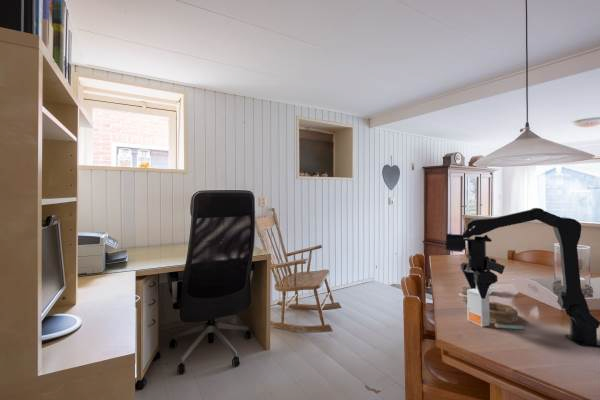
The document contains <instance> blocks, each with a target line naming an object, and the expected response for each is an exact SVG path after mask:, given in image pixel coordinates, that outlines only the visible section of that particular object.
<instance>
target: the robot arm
mask: <svg viewBox="0 0 600 400" xmlns="http://www.w3.org/2000/svg"><path fill="white" fill-rule="evenodd" d="M532 221H539V222H541V223H543V224H546V225H548V226H551V227H552V229H553V233H554V236H555V238H556V240H557V241H558V242H557V243H558V244H559V252H560V262H561V263H560V265H561V274H562V288H561V291H560V290H556V296H557V301H556V303H557V304H558V305H559V306H560V307H561V309H562V310H563V311H564V312H565V313H566V315H568V317H570V318H569V332H570V334H568V333H565V334H564V336H565V337H566V338H568V339H569V340H571V341H572V342H573V343H575V344H577V345H580V346H588V347H600V342H599V341H598V333H597V332H598V331H597V330H598V329H599V327H600V320H598V318H596V317H595V315H593V314H592V312H590V308H589V305H588V302H587V300H586V297H585V295H584V293H583V291H582V283H581V274H580V263H579V261H580V260H579V252H578V245H579V241H580V239H581V233H582V224H581V223H580V222H579V221H578V220H576V219H574V218H571V217H565V216H563V217H561V216H558V215H556V214H554V213H551V212H548V211H546V210H544V209H543V208H539V207H533V208H531V209H527V210H523V211H518V212H514V213H509V214H505V215H500V216H497V217H490V218H489V217H488V218H486V217H485V218H476V219H475V218H474V219H471V220H470V221H469V222H468V223H467V227H466V229H465V230H464V231H463V232H462V234H457V233H456V234H453V233H446V237H445V239H446V240H445V241H446V242H445V250H446V252H456V253H457V252H458V253H459V252H460V253H463V251H464V250H466V249H467V254H466V258H467V259H468V261H467V262H462V263H461V264H460V270H462V271H461V272H462V274H463V275H464V277H465V279H466V281H467V283H468V286H470V288H471V289H476V286H477V289H478V291H479V294H480V296H481V298H482V299H485V297H486V294H487V291H488V288H489V286H490V285H491V286H492V285H494V284H496V283H497V282H498V275H497V274H496V273H498V274H500V275H502V274H503V273H504V270H505V268H506V265H503V264H502V263H499V262H497V260H496V259H494V258H492V257H489V256H487V249H486V248H487V246H486V245H487V244H486V243H487V242H488V243H489V242H490V243H491V242H492V241H493V240H492V238H491V237H489V236H488V235H487V234H486V233H489V232H492V231H494V230H496V229H499V228H503V227H509V226H512V225H518V224H523V223H527V222H532ZM483 234H484V236H482V235H483ZM473 236H474V238H472V237H473ZM466 245H467V246H466ZM492 271H493V272H492ZM494 272H496V273H494Z"/></svg>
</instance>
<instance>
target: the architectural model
mask: <svg viewBox="0 0 600 400" xmlns="http://www.w3.org/2000/svg"><path fill="white" fill-rule="evenodd" d="M468 289H471V288H470V286H469V285H463V284H462V285H461V291H462V292H461V293H459V296H460V297H462V301H463V300H465V301H464V302H467V290H468Z"/></svg>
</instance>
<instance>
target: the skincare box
mask: <svg viewBox="0 0 600 400" xmlns="http://www.w3.org/2000/svg"><path fill="white" fill-rule="evenodd" d="M489 302H490V294H489V293H488V292H487V294H486V297H485V299H482V298H481V296H480V294H479V291H478V289H468V290H467V301H466V303H467V304H466V305H467V306H466V307H467V310H466V311H467V317H466V318H467V319H466V320H467V321H468V322H470V323H472V324H475V325H478V326H480V327H482V328H483V327H486V326H490V325H491V323H490V322H491V321H490V314H489Z"/></svg>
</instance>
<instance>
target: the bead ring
mask: <svg viewBox="0 0 600 400" xmlns="http://www.w3.org/2000/svg"><path fill="white" fill-rule="evenodd" d="M489 314H490V322H493V323H496V324H513V323H515V322H517V321H518V320H519V319H518V318H519V316H518V310H516V309H515V308H514V307H513V306H511V305H507V304H503V303H499V302H496V301H495V302H494V301H493V302H492V301H489Z"/></svg>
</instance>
